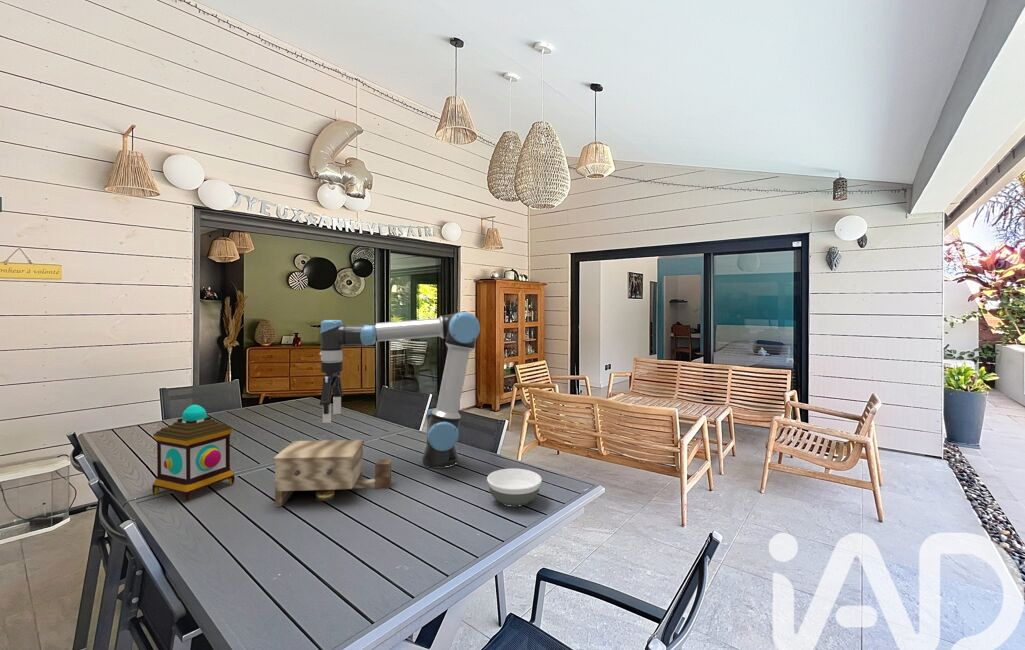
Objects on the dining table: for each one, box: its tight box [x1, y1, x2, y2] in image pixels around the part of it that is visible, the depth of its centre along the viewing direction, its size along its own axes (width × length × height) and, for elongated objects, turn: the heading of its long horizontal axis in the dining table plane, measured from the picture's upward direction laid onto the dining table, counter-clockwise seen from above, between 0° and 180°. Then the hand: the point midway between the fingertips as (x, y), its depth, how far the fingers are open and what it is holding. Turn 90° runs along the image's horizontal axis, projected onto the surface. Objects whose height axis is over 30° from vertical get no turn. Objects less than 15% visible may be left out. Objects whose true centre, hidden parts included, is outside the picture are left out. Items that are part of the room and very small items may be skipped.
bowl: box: [486, 468, 543, 506], centre depth 153 cm, size 19×19×8 cm
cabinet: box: [272, 439, 366, 507], centre depth 156 cm, size 25×20×16 cm
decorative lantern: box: [151, 404, 235, 502], centre depth 158 cm, size 20×20×30 cm
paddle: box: [352, 458, 392, 490], centre depth 163 cm, size 27×5×9 cm, turn 98°
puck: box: [315, 489, 336, 502], centre depth 154 cm, size 6×6×2 cm
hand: (332, 418), depth 168 cm, fingers open, 13 cm apart
